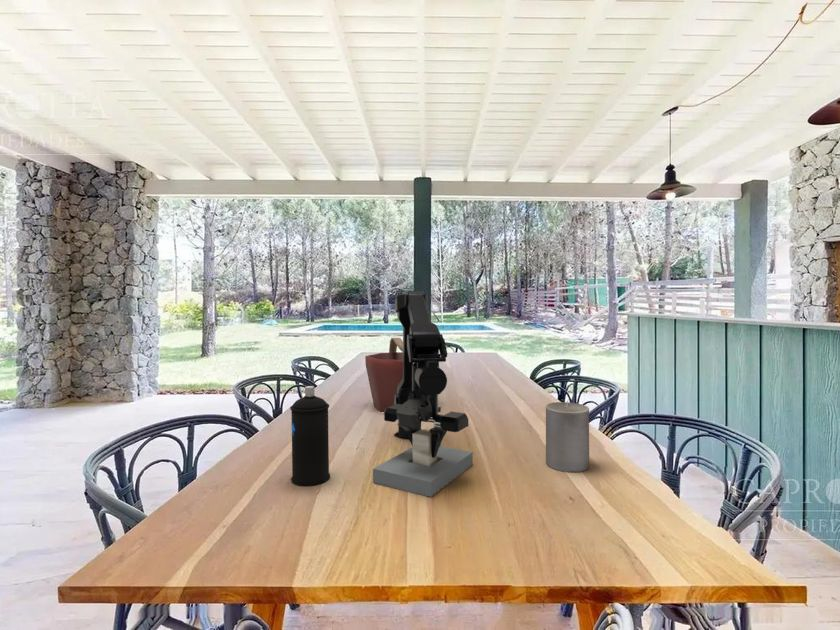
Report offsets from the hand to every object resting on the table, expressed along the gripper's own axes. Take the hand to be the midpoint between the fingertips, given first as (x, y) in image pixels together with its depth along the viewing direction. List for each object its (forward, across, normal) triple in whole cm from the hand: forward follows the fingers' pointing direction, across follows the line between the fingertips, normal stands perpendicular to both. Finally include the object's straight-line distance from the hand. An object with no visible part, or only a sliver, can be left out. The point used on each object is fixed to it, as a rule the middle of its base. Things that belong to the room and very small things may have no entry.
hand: (425, 455), depth 101 cm
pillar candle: (+4, +26, +21) cm, 34 cm away
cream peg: (+3, 0, 0) cm, 3 cm away
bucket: (+4, -39, +47) cm, 61 cm away
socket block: (+4, 0, 0) cm, 4 cm away
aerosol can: (+4, -20, -15) cm, 25 cm away
